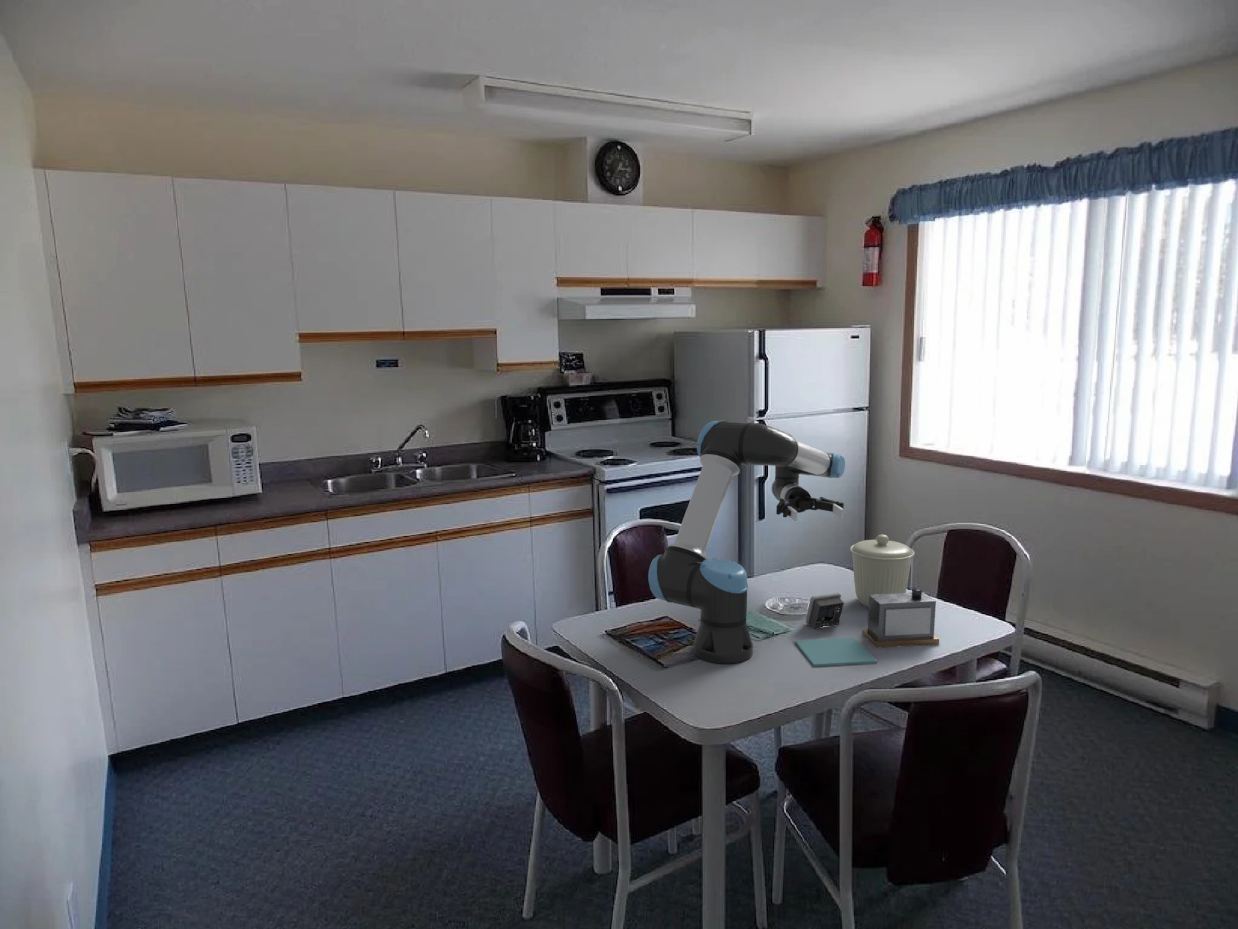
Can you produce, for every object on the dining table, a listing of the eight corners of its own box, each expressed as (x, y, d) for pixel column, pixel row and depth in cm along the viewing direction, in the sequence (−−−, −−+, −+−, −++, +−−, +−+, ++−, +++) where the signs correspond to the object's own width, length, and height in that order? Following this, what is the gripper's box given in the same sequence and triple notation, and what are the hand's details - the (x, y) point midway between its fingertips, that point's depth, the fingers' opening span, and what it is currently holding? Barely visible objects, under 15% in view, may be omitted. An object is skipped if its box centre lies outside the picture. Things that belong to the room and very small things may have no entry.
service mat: (813, 666, 196) (814, 664, 196) (794, 642, 210) (794, 640, 210) (877, 663, 197) (877, 660, 197) (853, 639, 212) (853, 637, 212)
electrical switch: (833, 620, 226) (836, 590, 223) (844, 628, 221) (847, 597, 219) (804, 624, 223) (807, 594, 220) (814, 633, 218) (817, 601, 216)
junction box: (875, 647, 206) (878, 597, 204) (862, 634, 215) (864, 586, 213) (938, 644, 208) (941, 594, 205) (922, 631, 217) (925, 583, 214)
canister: (869, 617, 228) (873, 545, 224) (836, 596, 245) (838, 529, 241) (924, 610, 232) (928, 540, 229) (888, 590, 249) (891, 525, 246)
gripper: (834, 508, 250) (861, 525, 230) (756, 511, 248) (776, 530, 227) (835, 484, 249) (861, 500, 228) (756, 488, 247) (776, 504, 226)
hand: (819, 515), depth 228 cm, fingers open, 13 cm apart
